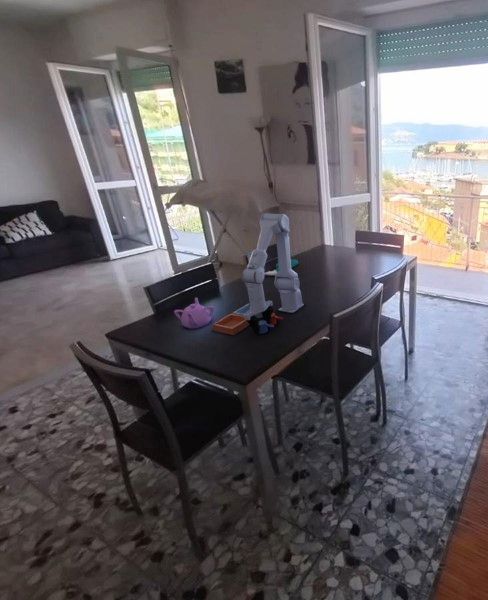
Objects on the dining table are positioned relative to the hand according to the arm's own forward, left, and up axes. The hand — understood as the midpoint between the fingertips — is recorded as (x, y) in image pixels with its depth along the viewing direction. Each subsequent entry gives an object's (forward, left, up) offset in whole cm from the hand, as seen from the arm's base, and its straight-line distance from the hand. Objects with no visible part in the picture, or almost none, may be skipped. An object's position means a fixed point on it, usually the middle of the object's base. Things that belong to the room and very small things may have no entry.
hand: (262, 328), depth 144 cm
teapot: (+4, -31, -2) cm, 31 cm away
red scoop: (-7, +1, -1) cm, 7 cm away
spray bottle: (-66, -40, -2) cm, 77 cm away
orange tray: (+1, -14, -1) cm, 14 cm away
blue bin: (-10, -14, -1) cm, 17 cm away
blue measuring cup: (0, +2, -1) cm, 2 cm away
